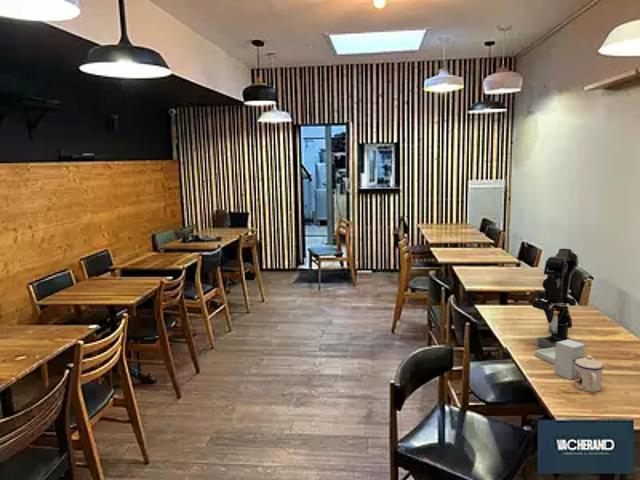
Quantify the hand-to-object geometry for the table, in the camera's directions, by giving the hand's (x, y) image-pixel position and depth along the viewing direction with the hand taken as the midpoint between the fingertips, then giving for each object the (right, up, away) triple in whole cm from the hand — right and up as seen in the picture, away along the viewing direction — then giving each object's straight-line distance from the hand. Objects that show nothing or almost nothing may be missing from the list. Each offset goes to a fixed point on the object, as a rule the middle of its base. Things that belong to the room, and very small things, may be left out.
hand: (553, 322), depth 221 cm
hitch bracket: (0, -12, +2) cm, 12 cm away
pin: (0, -5, +1) cm, 4 cm away
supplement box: (-6, -16, -26) cm, 31 cm away
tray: (-5, -13, -10) cm, 17 cm away
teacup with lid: (-5, -18, -38) cm, 43 cm away
